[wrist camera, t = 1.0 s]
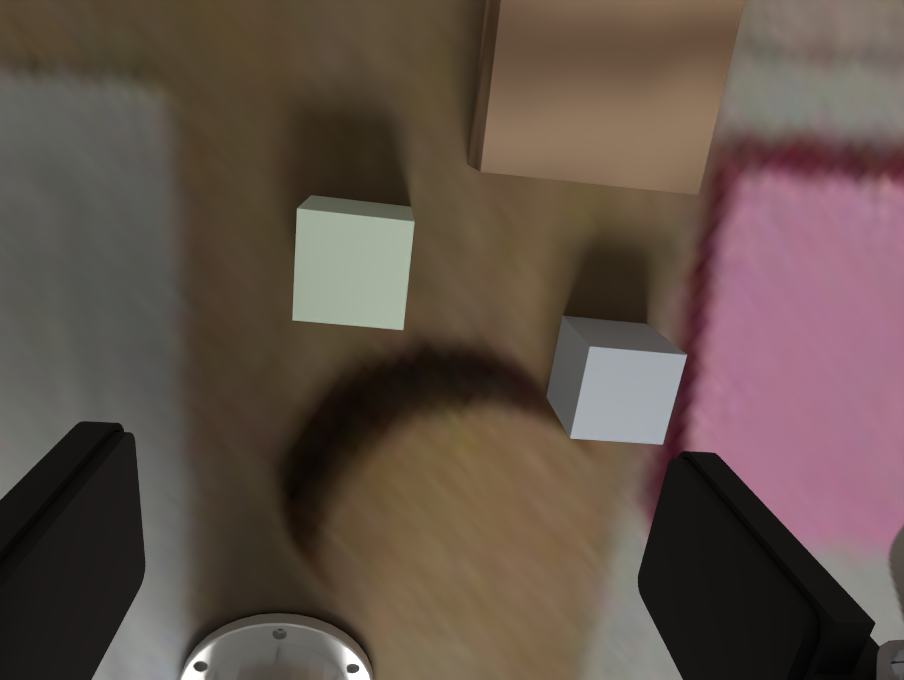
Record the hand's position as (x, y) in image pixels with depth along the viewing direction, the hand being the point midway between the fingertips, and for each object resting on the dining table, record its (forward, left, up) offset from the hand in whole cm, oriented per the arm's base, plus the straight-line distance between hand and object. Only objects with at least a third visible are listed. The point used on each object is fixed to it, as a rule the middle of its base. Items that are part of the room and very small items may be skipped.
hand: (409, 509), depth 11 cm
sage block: (0, +2, -23) cm, 23 cm away
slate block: (-5, -12, -23) cm, 26 cm away
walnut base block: (+10, -8, -23) cm, 26 cm away
